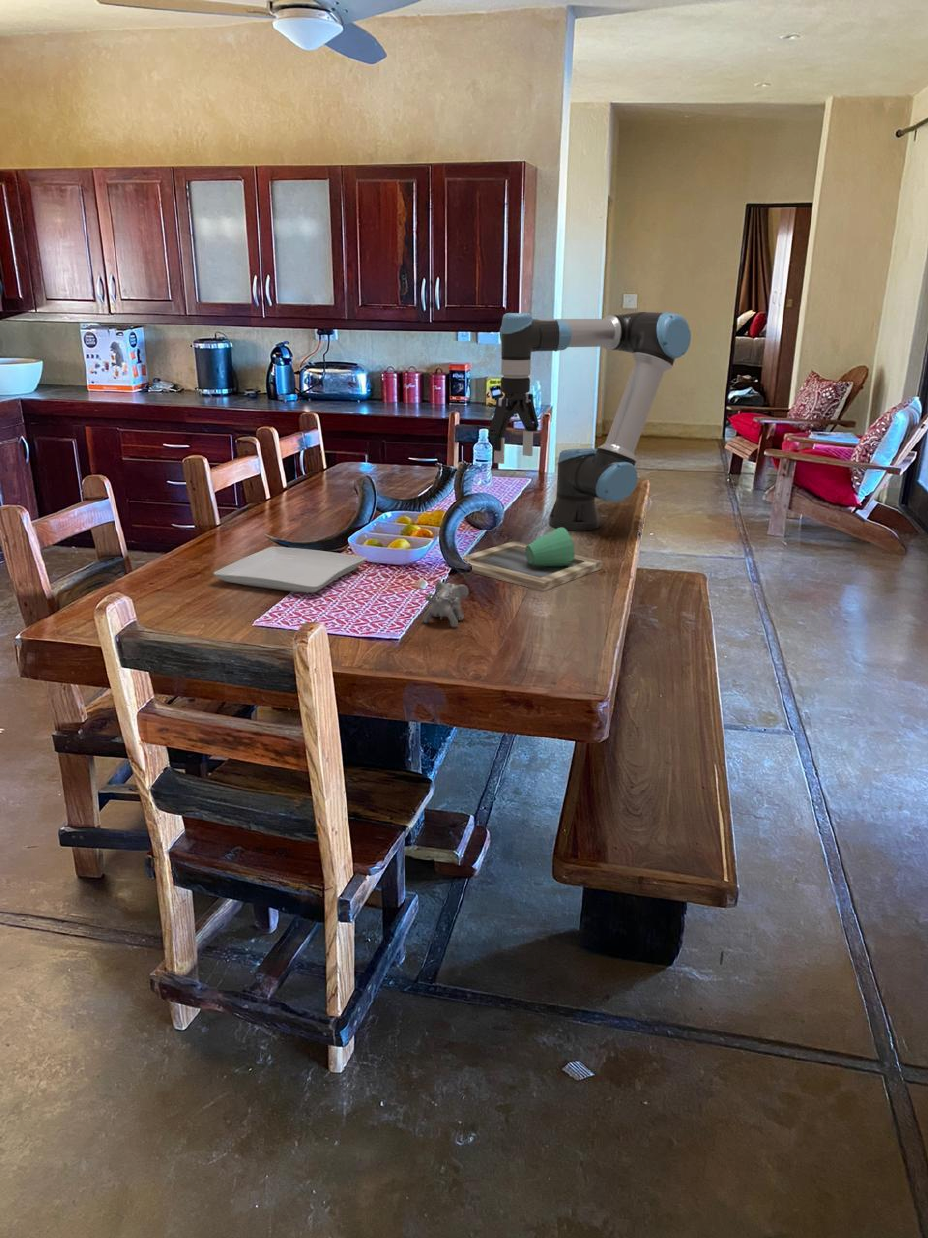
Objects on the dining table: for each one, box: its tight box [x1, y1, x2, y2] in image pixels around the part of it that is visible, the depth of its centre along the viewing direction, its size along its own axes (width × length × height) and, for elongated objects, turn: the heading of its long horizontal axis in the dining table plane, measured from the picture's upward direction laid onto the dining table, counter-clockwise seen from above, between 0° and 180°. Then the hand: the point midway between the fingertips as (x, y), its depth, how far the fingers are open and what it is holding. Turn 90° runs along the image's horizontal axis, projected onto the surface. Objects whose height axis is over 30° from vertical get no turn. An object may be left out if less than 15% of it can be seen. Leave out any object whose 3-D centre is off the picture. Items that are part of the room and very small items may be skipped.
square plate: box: [212, 545, 367, 594], centre depth 214 cm, size 27×27×4 cm
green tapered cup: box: [526, 527, 576, 567], centre depth 226 cm, size 15×10×10 cm
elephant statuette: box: [422, 580, 469, 628], centre depth 188 cm, size 9×12×8 cm
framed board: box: [461, 540, 603, 592], centre depth 226 cm, size 26×28×2 cm
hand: (513, 459), depth 237 cm, fingers open, 13 cm apart
